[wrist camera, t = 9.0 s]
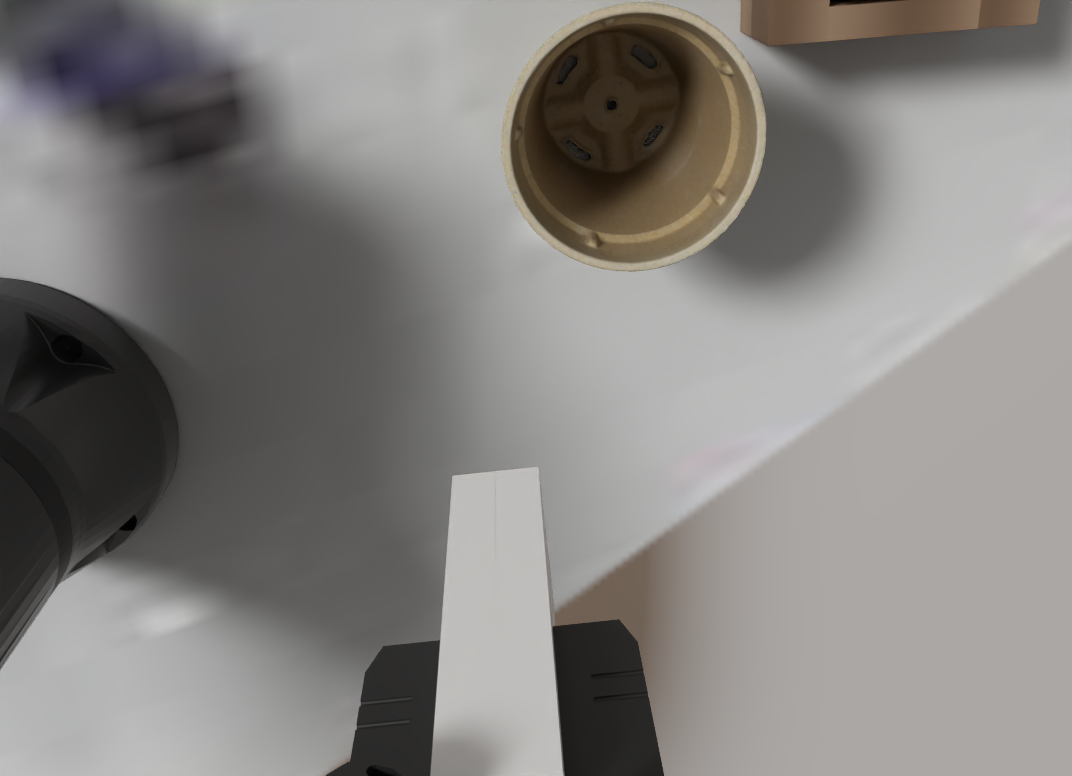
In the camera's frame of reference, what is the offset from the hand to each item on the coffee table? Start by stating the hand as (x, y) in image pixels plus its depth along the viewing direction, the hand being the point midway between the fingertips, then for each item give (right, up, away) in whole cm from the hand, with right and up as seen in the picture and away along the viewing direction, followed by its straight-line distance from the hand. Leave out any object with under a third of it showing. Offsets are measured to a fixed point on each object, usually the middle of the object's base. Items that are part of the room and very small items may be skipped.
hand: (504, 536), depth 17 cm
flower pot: (+4, +15, +25) cm, 29 cm away
